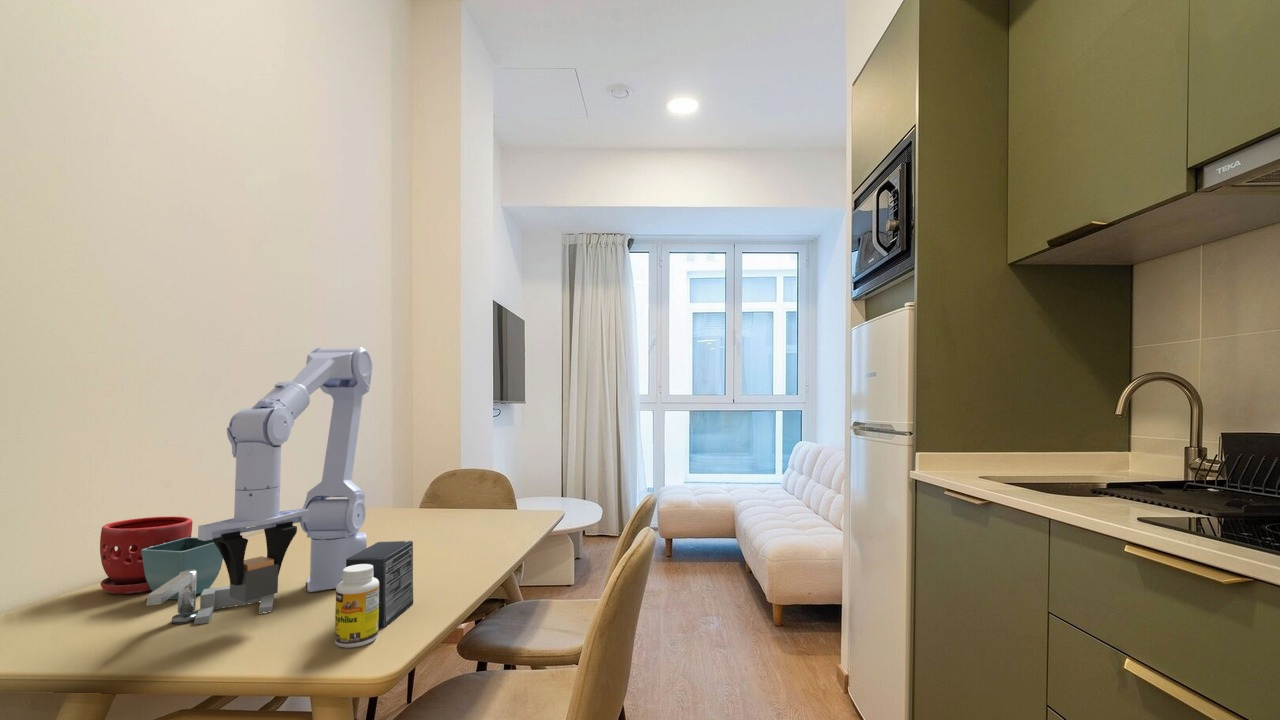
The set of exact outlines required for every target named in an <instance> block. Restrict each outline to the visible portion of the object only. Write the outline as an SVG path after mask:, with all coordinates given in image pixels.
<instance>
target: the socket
mask: <svg viewBox="0 0 1280 720" xmlns="http://www.w3.org/2000/svg"><path fill="white" fill-rule="evenodd" d="M199 599H200V601H199V603H200V604H199V605H200V606H199V610H197V611H198V613H197V615H196V617H195V621H194V626H196V625H202V624H208V622H209V623H210V621H211V618H212V616H213V614H214V612H213V611H215V610H218V609H217V608H221V609H224V608H223V607H227V608H230V607H229V606H234V607H236V606H235V605H240V606H244V605H243V604H247V605H249V604H248V603H253V604H255V603H254V602H259V601H261V602H260V603H259V606H258V614H259V613H263V612H269V611H272V612H273V608H274V602H275V594H272V595H268V596H265V597H261V598H257V599H254V600H250V601H247V602H244V601H241V600H238V599H235V598H232V597H230V585H225V586H217V587H210V588H209V589H204V590H203V592H202V593H200V597H199ZM273 601H274V602H273ZM214 609H215V610H214Z"/></svg>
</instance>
